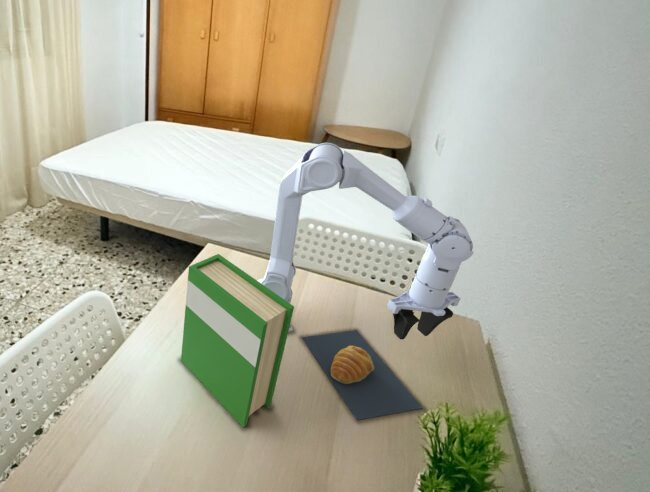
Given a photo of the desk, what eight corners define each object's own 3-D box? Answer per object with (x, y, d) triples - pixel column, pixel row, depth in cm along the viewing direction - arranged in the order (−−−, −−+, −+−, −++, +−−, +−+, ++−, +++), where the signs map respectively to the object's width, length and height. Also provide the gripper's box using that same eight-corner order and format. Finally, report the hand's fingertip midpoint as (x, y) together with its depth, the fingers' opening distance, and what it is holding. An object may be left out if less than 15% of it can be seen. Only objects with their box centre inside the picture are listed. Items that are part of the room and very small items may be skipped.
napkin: (301, 337, 91) (301, 337, 91) (356, 330, 93) (356, 329, 93) (357, 420, 73) (357, 419, 73) (422, 408, 76) (422, 407, 76)
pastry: (352, 395, 78) (356, 381, 76) (320, 372, 82) (324, 358, 81) (374, 370, 83) (379, 357, 81) (344, 350, 88) (348, 337, 86)
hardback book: (270, 405, 75) (294, 306, 65) (243, 427, 71) (263, 325, 61) (207, 345, 88) (218, 253, 77) (180, 360, 84) (188, 266, 73)
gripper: (416, 298, 71) (393, 354, 77) (483, 290, 74) (457, 344, 79) (388, 274, 77) (369, 327, 83) (451, 267, 80) (429, 319, 86)
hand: (410, 334), depth 82 cm, fingers open, 5 cm apart
